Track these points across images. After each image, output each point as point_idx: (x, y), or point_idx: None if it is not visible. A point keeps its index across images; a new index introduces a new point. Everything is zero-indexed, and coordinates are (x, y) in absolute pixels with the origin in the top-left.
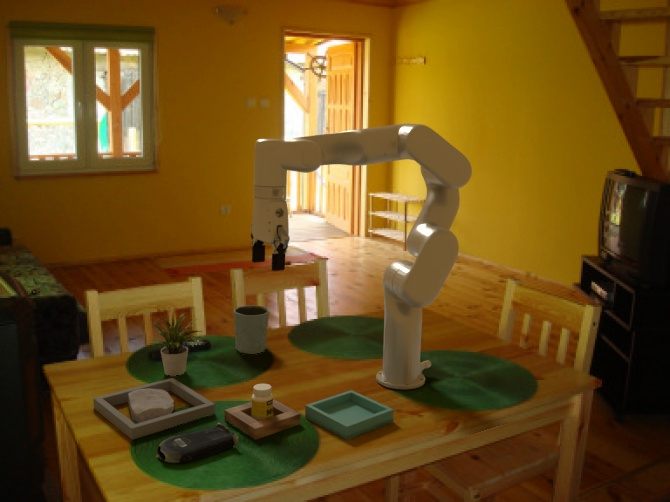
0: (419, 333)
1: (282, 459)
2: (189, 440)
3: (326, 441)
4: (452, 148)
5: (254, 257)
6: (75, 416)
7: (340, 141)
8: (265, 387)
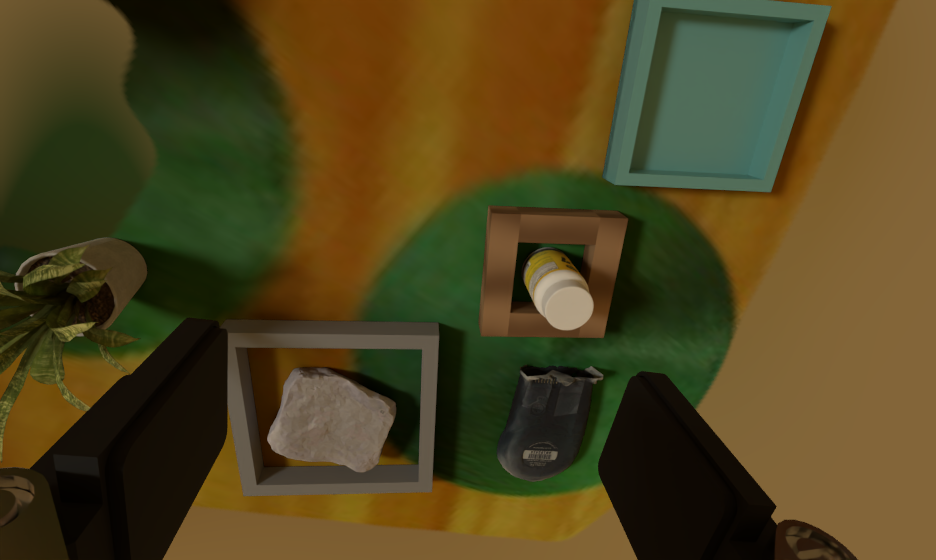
0: None
1: (688, 330)
2: (544, 442)
3: (715, 221)
4: None
5: (205, 472)
6: (271, 508)
7: None
8: (579, 306)
